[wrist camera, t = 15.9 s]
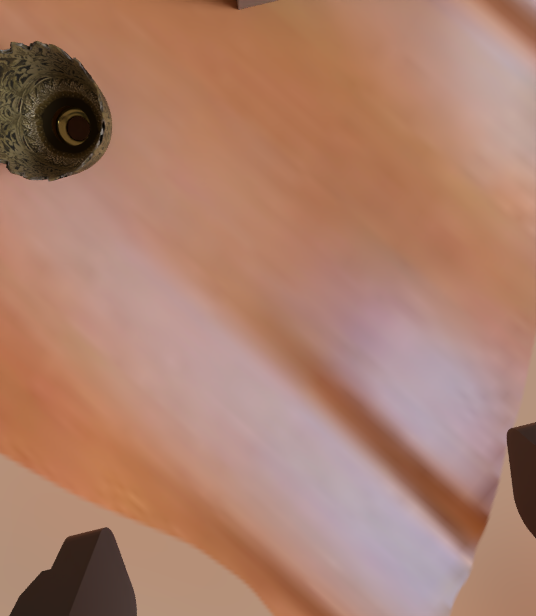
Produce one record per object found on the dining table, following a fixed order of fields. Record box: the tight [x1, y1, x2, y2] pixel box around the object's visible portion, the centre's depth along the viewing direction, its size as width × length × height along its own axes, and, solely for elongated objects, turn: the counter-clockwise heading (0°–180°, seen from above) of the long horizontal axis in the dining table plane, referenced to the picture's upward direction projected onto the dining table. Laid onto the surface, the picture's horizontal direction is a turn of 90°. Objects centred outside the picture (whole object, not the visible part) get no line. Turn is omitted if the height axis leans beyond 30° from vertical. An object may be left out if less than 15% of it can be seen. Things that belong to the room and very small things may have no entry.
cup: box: [0, 41, 112, 181], centre depth 32 cm, size 8×7×8 cm
